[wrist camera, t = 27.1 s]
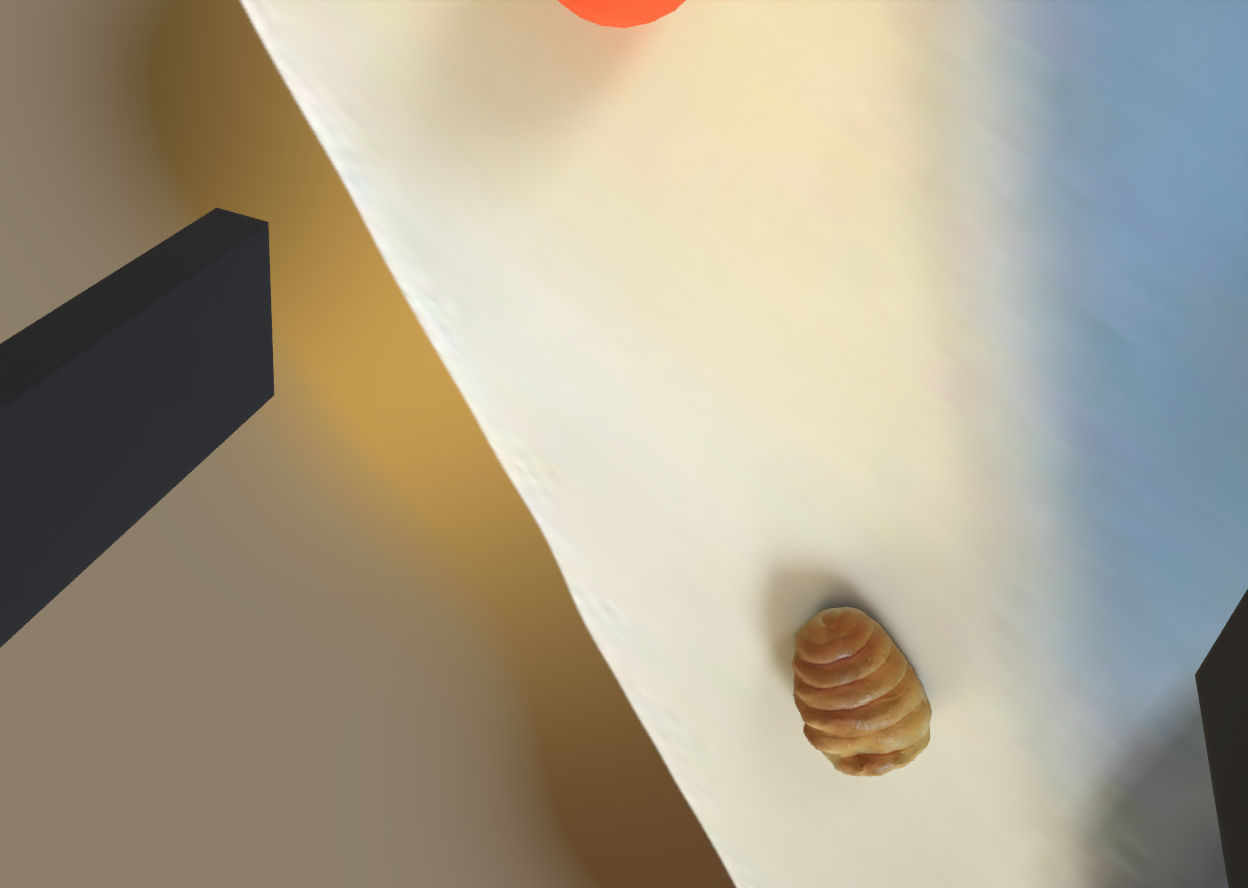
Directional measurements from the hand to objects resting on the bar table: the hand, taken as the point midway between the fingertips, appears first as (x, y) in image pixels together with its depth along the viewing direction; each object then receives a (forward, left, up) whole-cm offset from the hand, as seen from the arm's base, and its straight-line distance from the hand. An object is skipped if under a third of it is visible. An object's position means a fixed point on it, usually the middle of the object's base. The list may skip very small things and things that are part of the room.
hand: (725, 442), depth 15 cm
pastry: (+23, +28, -35) cm, 50 cm away
